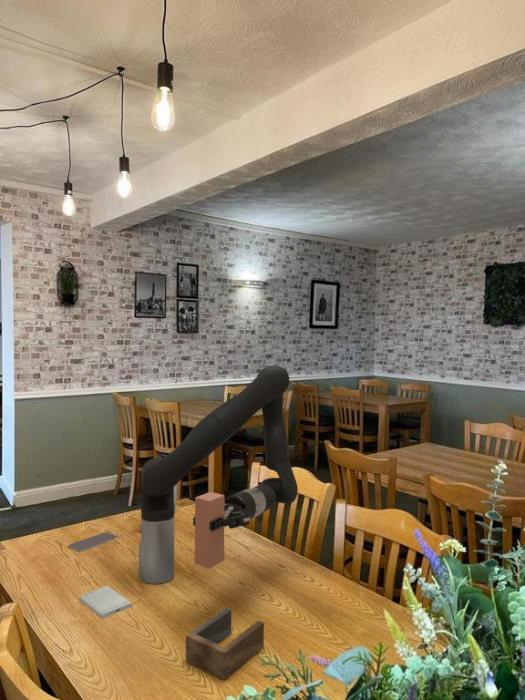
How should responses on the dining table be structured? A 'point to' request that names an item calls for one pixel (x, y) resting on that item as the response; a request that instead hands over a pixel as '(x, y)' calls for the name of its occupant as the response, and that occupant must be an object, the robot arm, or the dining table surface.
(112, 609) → the hard drive
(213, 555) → the reddish pink rectangular block
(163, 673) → the dining table surface
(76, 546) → the smartphone
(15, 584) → the dining table surface
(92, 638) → the dining table surface
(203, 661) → the book slot
